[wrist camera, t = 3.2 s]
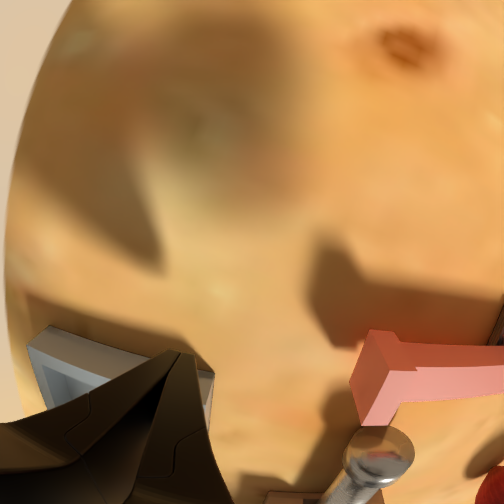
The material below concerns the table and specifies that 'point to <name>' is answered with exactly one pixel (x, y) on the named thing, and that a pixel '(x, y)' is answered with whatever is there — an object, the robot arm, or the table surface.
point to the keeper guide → (498, 332)
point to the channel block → (309, 498)
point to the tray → (87, 367)
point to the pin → (370, 465)
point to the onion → (492, 487)
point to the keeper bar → (420, 374)
